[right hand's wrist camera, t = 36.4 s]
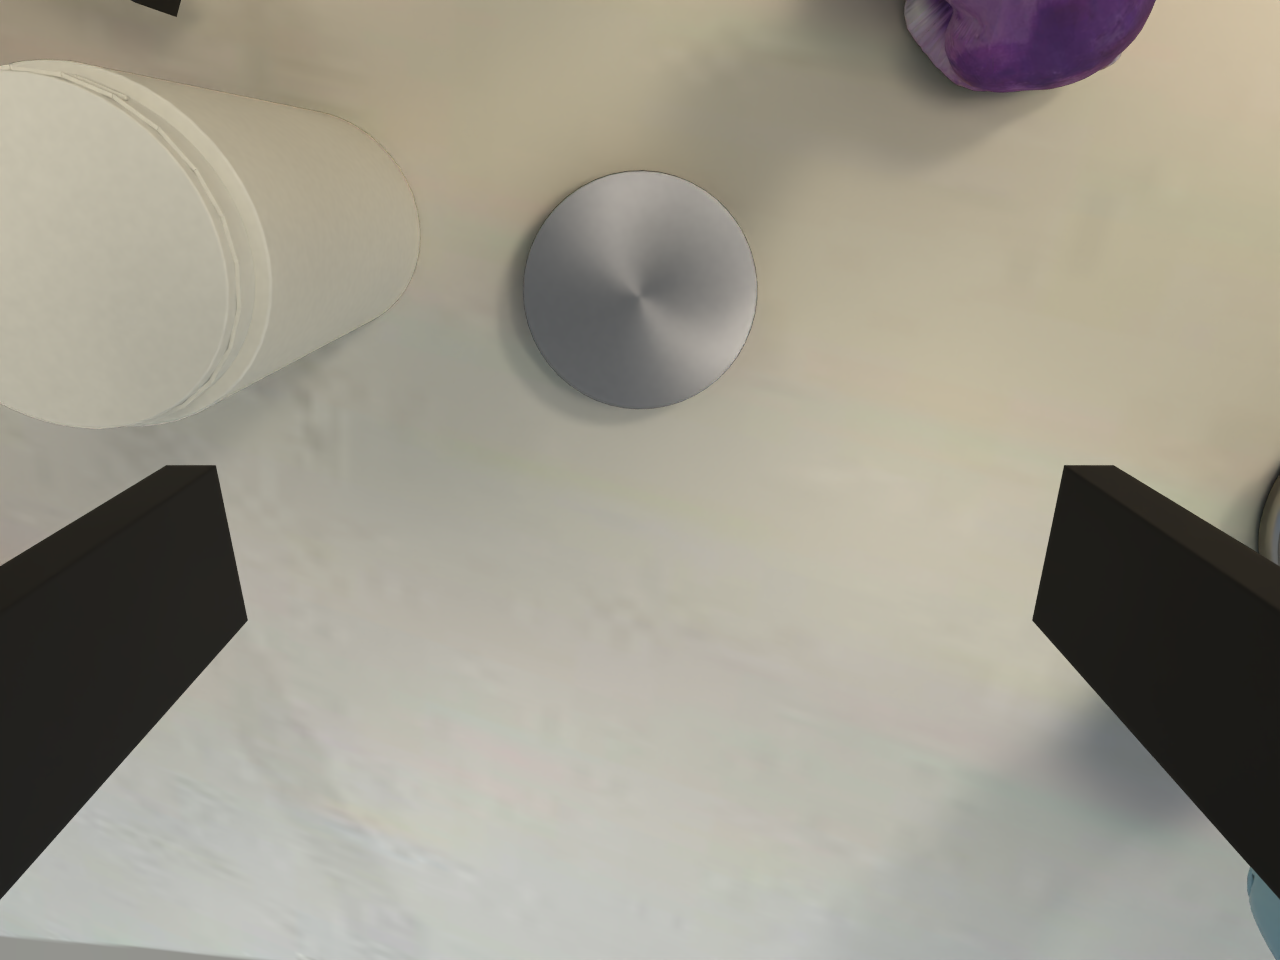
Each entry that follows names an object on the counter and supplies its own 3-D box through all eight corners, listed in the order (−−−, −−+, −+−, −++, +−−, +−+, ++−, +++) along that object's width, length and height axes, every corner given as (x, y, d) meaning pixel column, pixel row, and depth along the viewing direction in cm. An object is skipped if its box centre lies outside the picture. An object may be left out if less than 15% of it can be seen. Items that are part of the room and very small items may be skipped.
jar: (353, 71, 36) (90, -26, 19) (457, 282, 40) (315, 364, 22) (165, 164, 38) (-239, 153, 20) (281, 360, 41) (20, 494, 24)
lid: (481, 287, 40) (474, 293, 38) (643, 117, 37) (643, 114, 35) (637, 441, 43) (637, 452, 41) (798, 293, 40) (805, 299, 38)
